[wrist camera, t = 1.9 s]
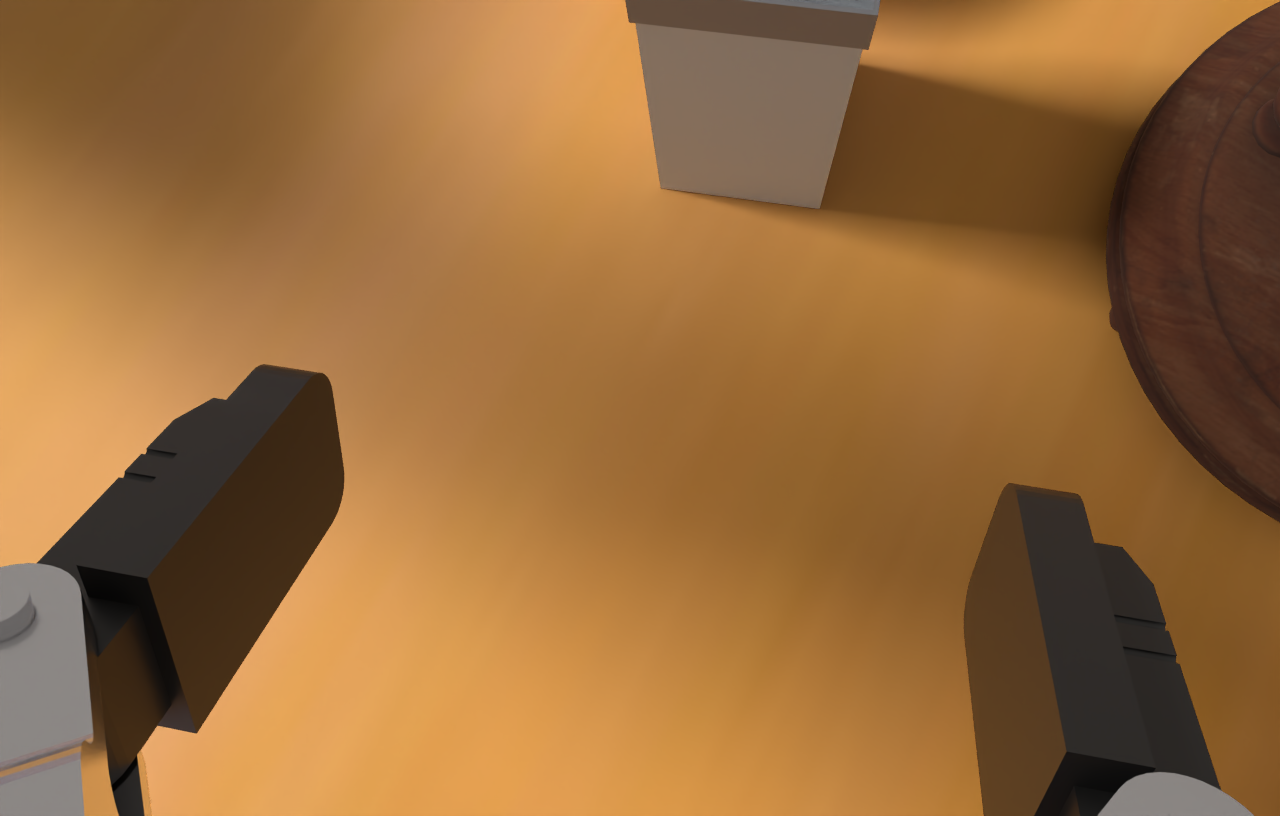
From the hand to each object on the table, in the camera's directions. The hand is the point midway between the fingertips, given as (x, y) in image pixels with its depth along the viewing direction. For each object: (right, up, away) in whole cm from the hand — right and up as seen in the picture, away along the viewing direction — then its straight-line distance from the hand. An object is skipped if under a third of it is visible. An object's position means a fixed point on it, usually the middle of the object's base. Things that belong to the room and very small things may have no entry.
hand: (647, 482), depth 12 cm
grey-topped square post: (+3, +9, +17) cm, 19 cm away
